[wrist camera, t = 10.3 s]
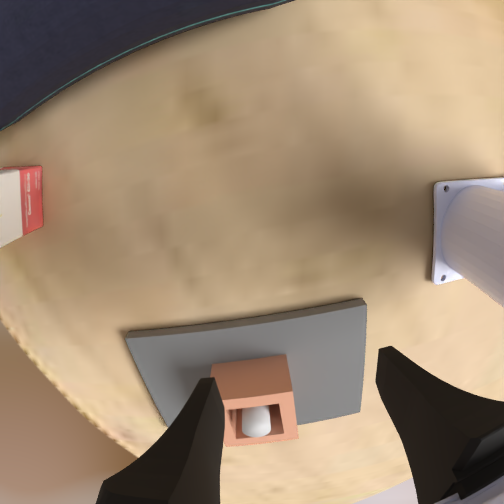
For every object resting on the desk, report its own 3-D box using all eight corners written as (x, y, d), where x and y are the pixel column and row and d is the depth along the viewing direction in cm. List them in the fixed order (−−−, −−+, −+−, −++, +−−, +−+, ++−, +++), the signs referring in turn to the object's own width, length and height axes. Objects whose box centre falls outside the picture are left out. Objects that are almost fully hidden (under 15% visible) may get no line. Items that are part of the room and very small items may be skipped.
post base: (362, 298, 22) (391, 340, 16) (357, 404, 25) (373, 447, 20) (128, 331, 22) (104, 376, 17) (174, 427, 26) (165, 471, 21)
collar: (286, 354, 22) (292, 391, 18) (292, 402, 24) (298, 438, 20) (212, 363, 22) (207, 401, 18) (227, 411, 24) (225, 446, 20)
